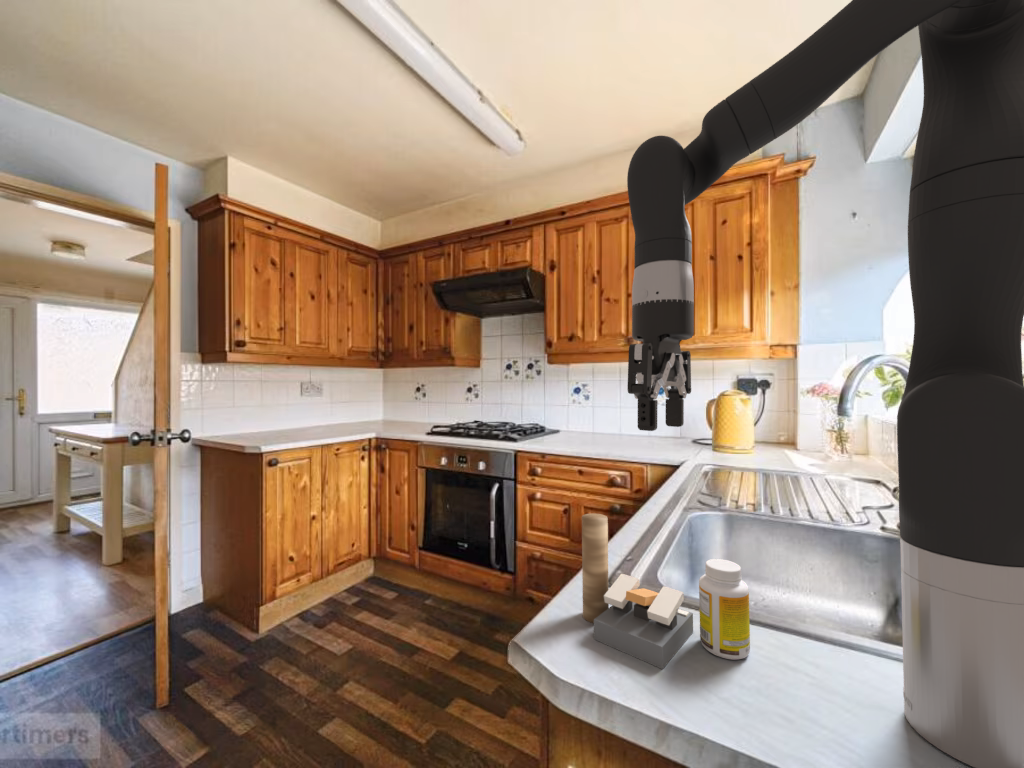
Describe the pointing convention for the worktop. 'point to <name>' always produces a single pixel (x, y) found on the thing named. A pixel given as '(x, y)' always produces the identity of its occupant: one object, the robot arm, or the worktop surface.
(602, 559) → the pine post
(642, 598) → the paddle middle
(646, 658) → the board
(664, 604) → the paddle near bottle
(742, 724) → the worktop surface
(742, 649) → the supplement bottle
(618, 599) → the paddle near post
